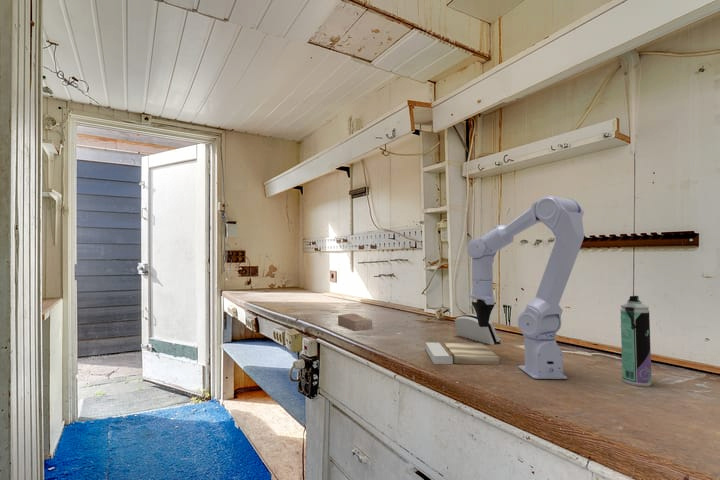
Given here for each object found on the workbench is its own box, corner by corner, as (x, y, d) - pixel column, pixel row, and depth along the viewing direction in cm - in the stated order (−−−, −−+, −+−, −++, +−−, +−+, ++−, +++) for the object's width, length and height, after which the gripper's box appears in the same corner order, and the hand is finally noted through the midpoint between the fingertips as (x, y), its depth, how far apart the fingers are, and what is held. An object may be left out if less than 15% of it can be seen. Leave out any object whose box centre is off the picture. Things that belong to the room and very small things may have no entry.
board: (452, 364, 104) (452, 354, 104) (434, 364, 104) (433, 354, 104) (441, 349, 120) (441, 341, 120) (425, 349, 120) (425, 341, 120)
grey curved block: (503, 343, 128) (495, 316, 127) (493, 349, 126) (485, 322, 125) (467, 334, 143) (460, 309, 142) (458, 340, 141) (451, 314, 139)
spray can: (653, 388, 85) (650, 297, 86) (623, 383, 88) (620, 296, 89) (650, 381, 89) (647, 295, 90) (621, 377, 92) (619, 294, 93)
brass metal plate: (499, 364, 103) (499, 357, 103) (454, 363, 104) (454, 355, 104) (482, 350, 119) (482, 343, 119) (443, 349, 120) (443, 342, 120)
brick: (373, 330, 153) (373, 318, 153) (355, 332, 149) (355, 319, 149) (354, 323, 168) (354, 313, 168) (337, 325, 164) (337, 314, 164)
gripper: (462, 278, 120) (463, 322, 119) (475, 281, 105) (476, 331, 105) (485, 278, 119) (486, 322, 119) (501, 281, 105) (502, 331, 104)
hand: (483, 326), depth 112 cm, fingers closed
